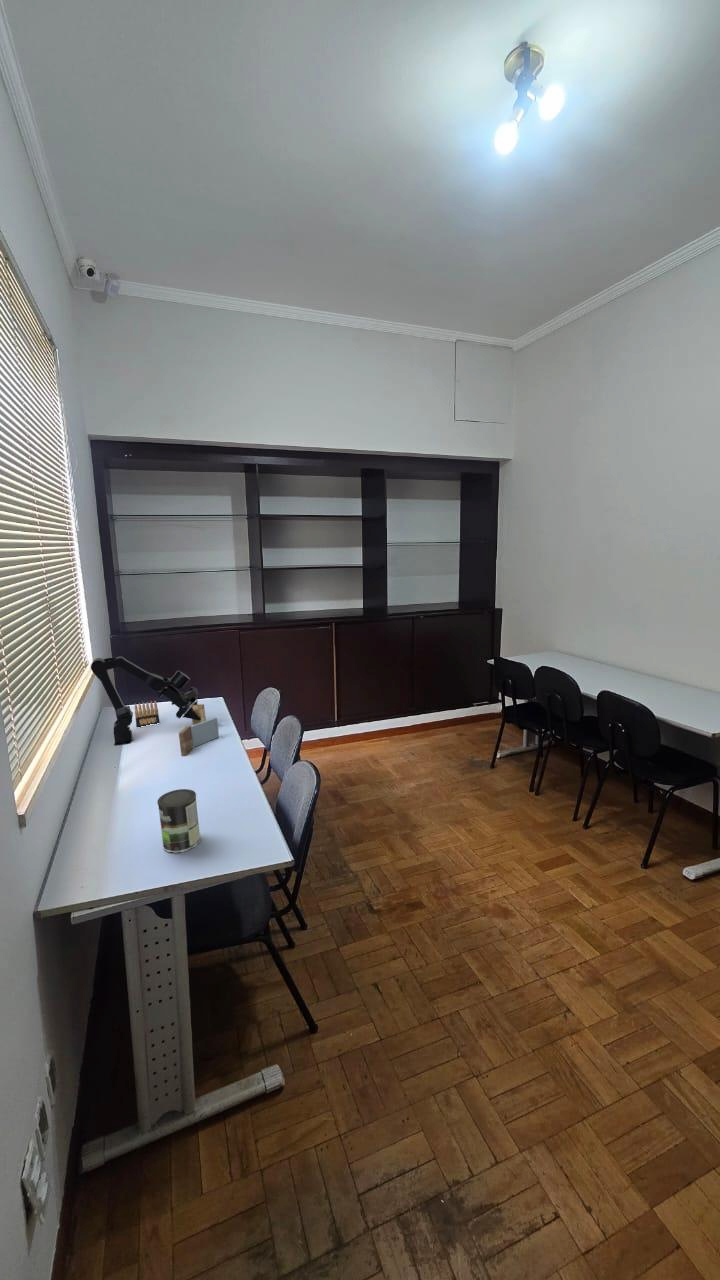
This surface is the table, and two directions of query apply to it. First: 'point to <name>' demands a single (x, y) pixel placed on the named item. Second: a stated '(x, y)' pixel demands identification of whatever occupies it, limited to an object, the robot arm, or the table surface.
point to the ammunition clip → (146, 714)
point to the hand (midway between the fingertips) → (201, 717)
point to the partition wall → (186, 740)
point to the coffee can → (179, 820)
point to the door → (204, 731)
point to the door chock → (199, 713)
